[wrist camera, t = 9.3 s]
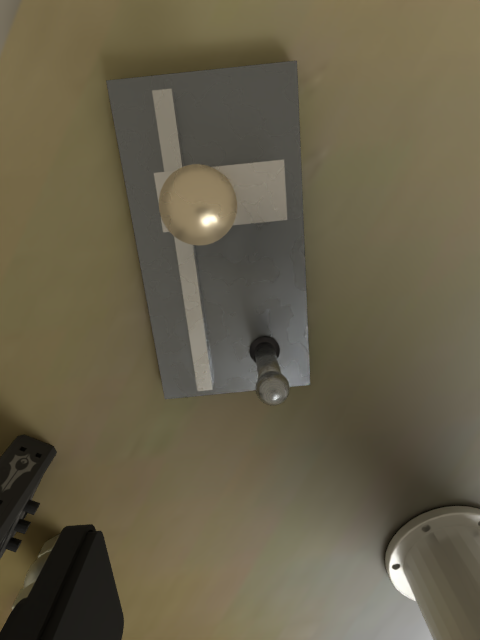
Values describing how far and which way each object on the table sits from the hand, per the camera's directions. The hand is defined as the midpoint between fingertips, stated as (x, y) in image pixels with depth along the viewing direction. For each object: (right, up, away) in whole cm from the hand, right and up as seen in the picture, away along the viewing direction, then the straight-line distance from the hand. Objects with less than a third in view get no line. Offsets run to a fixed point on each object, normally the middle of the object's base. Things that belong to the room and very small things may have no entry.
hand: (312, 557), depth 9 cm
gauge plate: (-3, +11, +21) cm, 24 cm away
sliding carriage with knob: (-3, +14, +18) cm, 23 cm away
